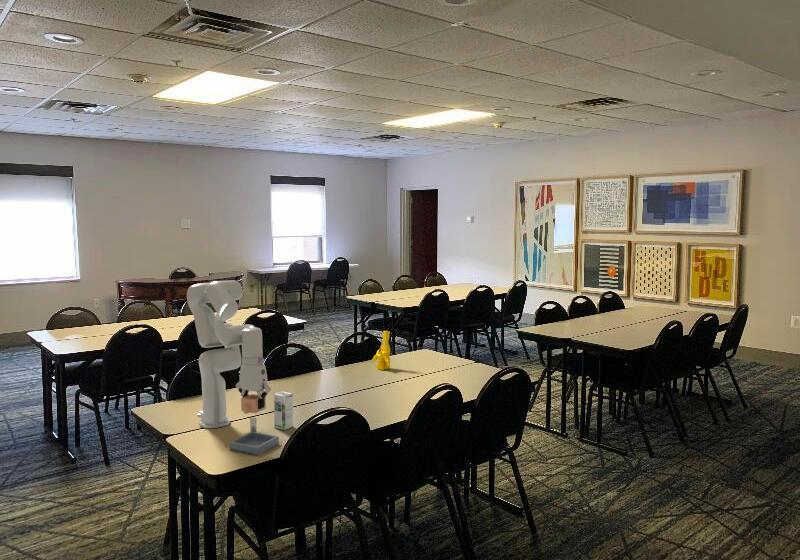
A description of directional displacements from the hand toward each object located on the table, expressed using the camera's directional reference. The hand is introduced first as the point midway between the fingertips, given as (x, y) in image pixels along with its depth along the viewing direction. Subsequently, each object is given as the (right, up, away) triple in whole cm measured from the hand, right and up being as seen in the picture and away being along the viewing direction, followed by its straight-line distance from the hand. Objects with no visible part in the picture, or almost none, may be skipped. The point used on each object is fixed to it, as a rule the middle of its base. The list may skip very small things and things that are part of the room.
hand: (253, 406), depth 231 cm
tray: (0, -16, +1) cm, 16 cm away
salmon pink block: (0, -1, 0) cm, 1 cm away
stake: (-4, -14, +17) cm, 22 cm away
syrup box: (+7, -14, +23) cm, 28 cm away
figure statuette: (+46, -4, +122) cm, 130 cm away
